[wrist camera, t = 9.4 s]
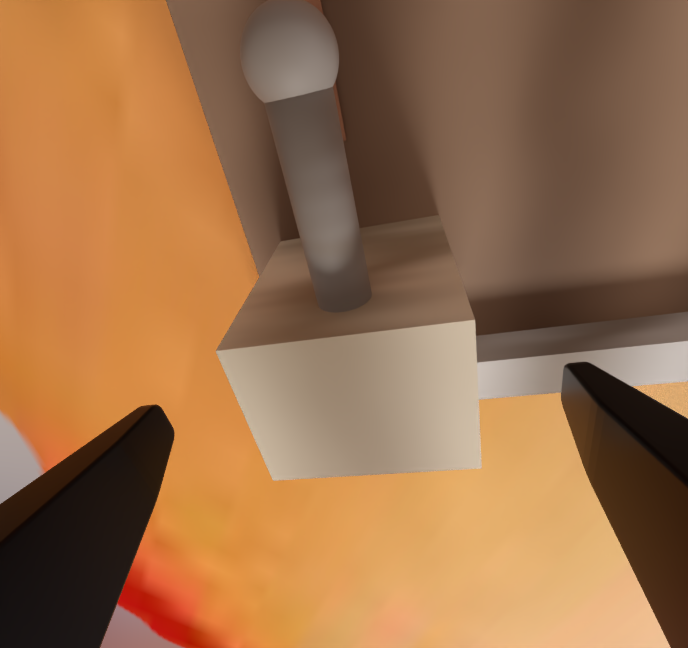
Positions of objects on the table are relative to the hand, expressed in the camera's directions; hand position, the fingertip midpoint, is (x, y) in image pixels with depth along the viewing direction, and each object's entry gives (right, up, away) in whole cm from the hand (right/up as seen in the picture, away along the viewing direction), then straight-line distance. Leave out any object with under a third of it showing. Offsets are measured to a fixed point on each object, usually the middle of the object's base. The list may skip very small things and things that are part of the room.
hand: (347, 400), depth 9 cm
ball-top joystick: (0, +5, +3) cm, 6 cm away
